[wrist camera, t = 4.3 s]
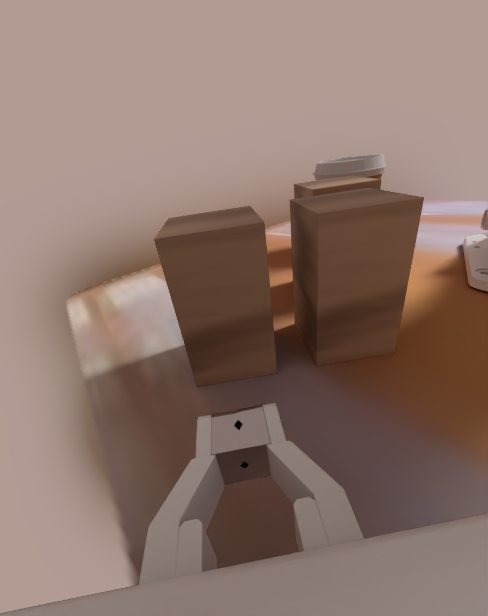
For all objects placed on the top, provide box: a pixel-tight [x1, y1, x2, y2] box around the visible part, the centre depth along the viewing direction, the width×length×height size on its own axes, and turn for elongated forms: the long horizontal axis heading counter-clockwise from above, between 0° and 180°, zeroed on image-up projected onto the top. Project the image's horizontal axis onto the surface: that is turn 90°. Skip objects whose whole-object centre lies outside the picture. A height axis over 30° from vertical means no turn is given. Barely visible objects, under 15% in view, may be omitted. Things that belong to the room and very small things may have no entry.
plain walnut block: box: [154, 206, 277, 387], centre depth 20 cm, size 6×6×11 cm
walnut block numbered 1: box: [290, 188, 424, 366], centre depth 20 cm, size 6×6×11 cm
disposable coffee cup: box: [313, 155, 387, 181], centre depth 40 cm, size 10×10×12 cm
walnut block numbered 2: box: [294, 176, 381, 199], centre depth 29 cm, size 6×6×11 cm
